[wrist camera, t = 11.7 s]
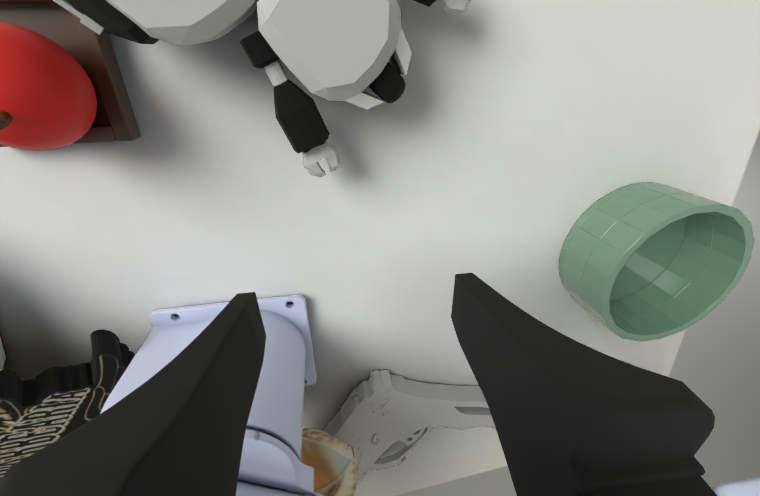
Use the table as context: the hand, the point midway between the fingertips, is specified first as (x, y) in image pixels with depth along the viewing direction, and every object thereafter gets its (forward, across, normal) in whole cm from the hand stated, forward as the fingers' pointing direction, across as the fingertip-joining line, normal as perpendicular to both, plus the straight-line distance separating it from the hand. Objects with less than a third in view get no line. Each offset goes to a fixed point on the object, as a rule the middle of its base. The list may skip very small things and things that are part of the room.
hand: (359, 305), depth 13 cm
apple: (+9, +13, -8) cm, 18 cm away
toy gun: (+7, -7, +31) cm, 32 cm away
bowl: (+10, -20, +5) cm, 23 cm away
